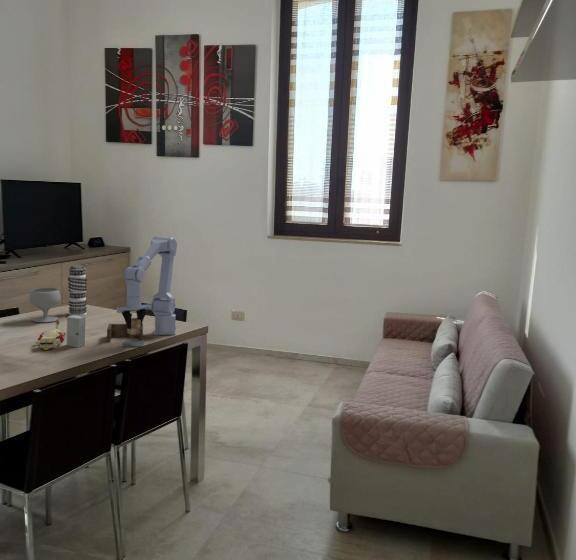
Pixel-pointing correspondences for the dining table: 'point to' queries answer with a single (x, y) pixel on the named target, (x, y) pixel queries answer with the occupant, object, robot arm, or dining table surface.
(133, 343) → the mat
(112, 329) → the brown wooden arch
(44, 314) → the chalice
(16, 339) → the dining table surface
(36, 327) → the dining table surface
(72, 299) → the decorative candle
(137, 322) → the oak block
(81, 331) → the skincare box
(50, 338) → the cat figure
